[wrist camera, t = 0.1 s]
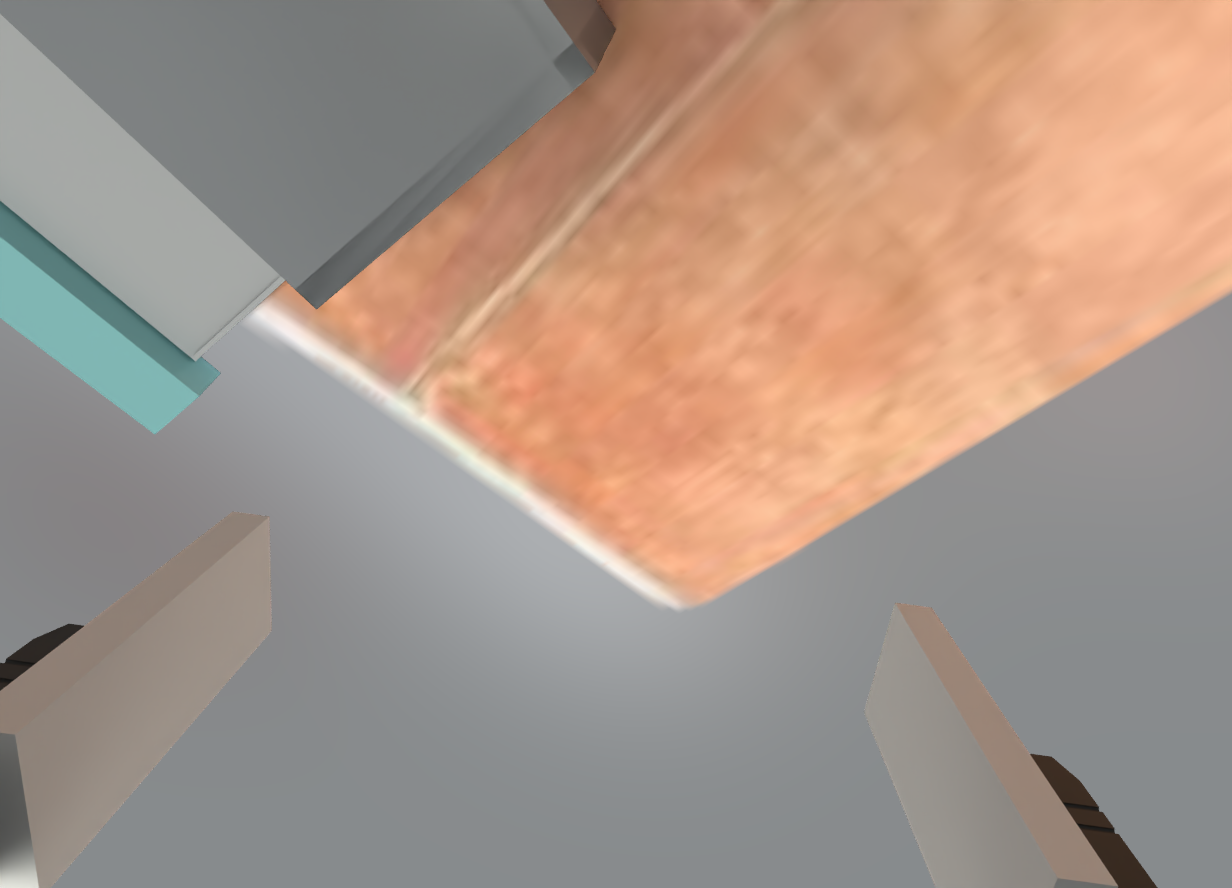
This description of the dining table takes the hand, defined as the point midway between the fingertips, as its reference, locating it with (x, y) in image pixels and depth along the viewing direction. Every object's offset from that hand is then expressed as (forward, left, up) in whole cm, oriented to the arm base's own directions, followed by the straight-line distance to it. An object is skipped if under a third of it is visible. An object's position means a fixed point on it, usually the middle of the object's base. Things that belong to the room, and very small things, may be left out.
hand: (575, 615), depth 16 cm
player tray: (+25, -18, -28) cm, 41 cm away
